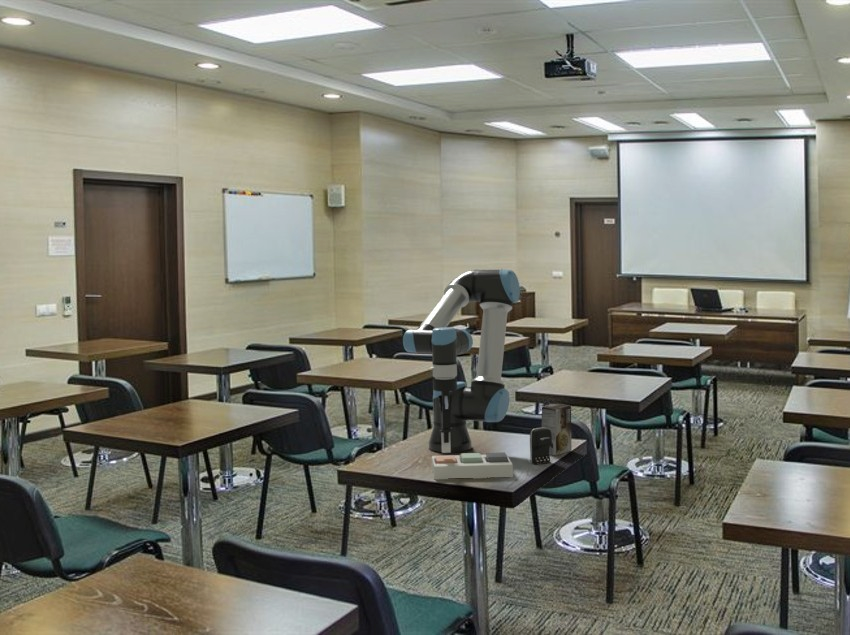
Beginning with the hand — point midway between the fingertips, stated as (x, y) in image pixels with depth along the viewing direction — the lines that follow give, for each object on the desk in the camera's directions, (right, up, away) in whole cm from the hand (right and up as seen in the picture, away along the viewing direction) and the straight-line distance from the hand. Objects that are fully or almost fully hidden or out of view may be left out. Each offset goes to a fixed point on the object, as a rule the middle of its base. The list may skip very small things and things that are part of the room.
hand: (446, 452), depth 266 cm
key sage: (+8, -4, 0) cm, 9 cm away
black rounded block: (+31, -6, +12) cm, 34 cm away
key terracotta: (0, -5, 0) cm, 5 cm away
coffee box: (+39, -4, +27) cm, 47 cm away
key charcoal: (+16, -4, +1) cm, 16 cm away
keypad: (+8, -7, 0) cm, 10 cm away
